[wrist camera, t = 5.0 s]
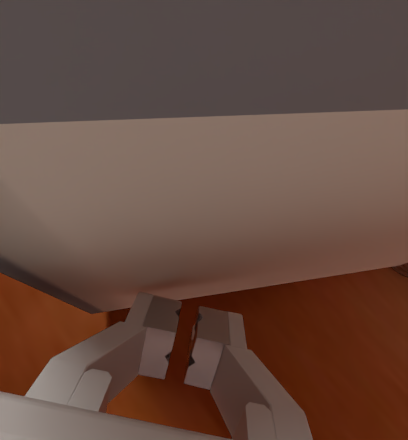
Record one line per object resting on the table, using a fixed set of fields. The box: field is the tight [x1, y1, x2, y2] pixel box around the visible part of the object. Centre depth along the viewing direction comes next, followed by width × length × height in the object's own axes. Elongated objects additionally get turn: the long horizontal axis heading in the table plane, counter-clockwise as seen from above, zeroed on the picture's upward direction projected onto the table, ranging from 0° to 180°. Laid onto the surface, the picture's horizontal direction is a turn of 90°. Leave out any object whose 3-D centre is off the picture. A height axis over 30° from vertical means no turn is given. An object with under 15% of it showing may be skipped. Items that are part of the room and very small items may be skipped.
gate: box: [0, 0, 408, 314], centre depth 9 cm, size 17×2×14 cm, turn 100°
